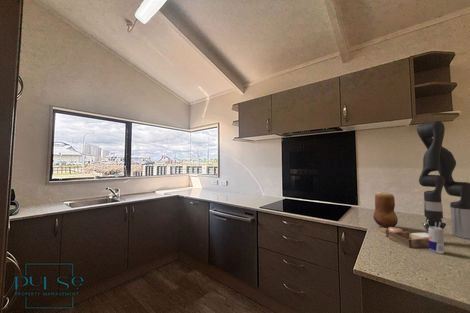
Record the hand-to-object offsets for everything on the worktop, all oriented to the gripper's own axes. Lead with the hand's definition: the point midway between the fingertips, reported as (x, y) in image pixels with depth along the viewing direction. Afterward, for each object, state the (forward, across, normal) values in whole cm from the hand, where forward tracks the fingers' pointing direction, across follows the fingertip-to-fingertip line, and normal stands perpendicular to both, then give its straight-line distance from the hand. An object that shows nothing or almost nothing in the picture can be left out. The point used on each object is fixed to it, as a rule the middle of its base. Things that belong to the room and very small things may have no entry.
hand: (435, 239), depth 111 cm
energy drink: (+1, +14, +12) cm, 18 cm away
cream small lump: (+1, +12, -12) cm, 18 cm away
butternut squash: (+1, +6, -26) cm, 27 cm away
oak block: (+1, +20, -13) cm, 24 cm away
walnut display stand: (+1, +17, 0) cm, 17 cm away
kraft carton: (+1, +7, 0) cm, 7 cm away
